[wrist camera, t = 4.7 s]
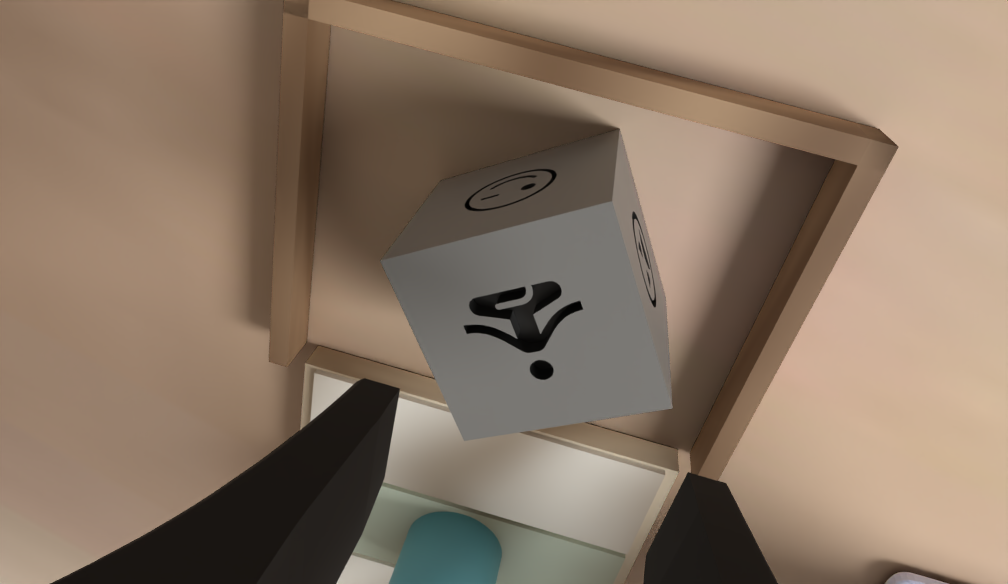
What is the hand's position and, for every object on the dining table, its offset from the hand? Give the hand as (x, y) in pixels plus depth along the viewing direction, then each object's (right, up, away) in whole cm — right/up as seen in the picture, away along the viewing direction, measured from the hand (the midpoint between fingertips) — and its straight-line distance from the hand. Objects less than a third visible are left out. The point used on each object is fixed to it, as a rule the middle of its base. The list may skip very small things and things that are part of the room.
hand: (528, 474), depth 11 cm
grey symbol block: (+1, +5, +8) cm, 9 cm away
